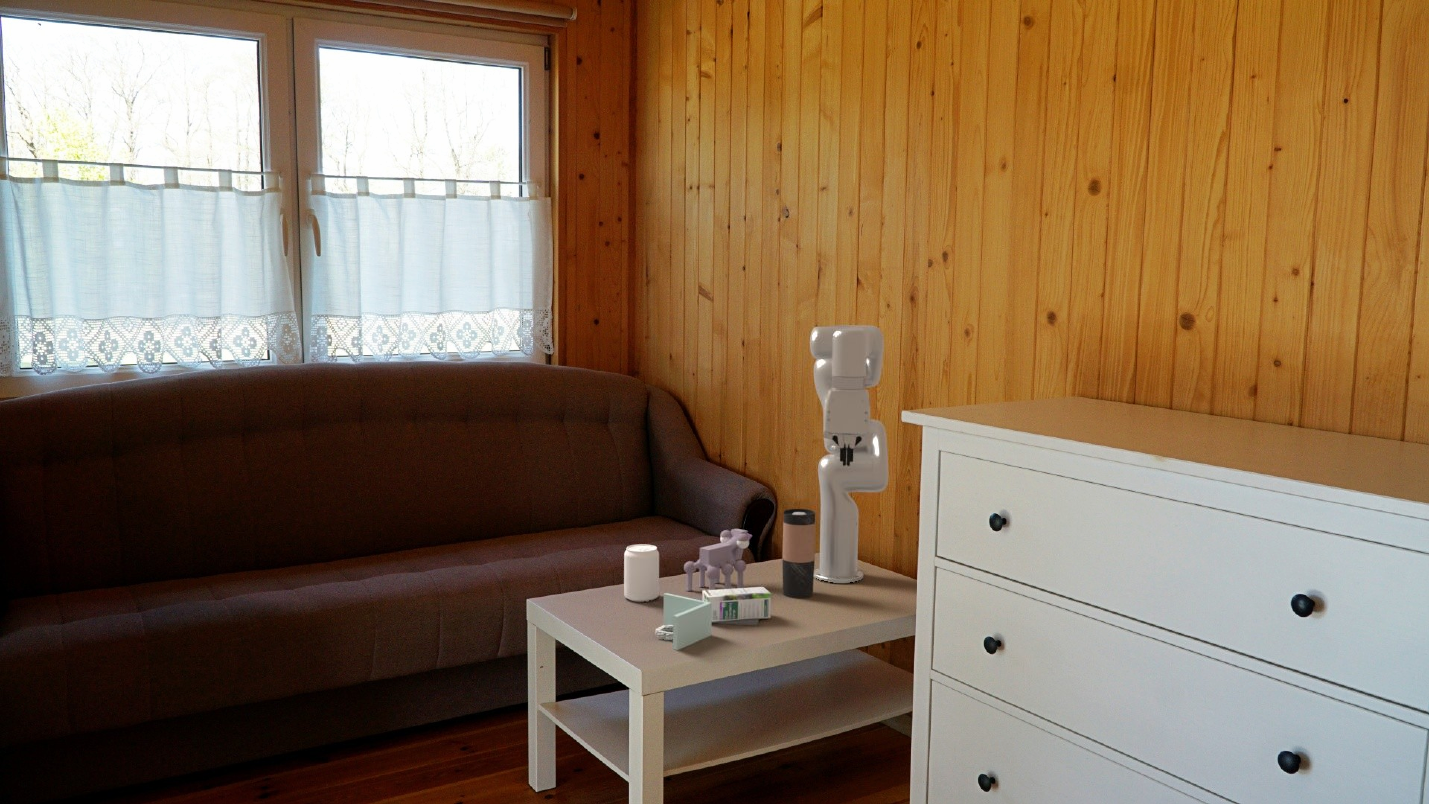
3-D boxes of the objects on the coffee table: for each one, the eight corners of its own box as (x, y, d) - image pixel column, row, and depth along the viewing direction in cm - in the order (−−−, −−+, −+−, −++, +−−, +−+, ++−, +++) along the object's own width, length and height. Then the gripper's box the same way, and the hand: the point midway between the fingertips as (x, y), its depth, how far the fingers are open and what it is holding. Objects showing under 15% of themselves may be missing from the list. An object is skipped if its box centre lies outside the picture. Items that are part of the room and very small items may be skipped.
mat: (679, 599, 251) (679, 597, 250) (764, 604, 248) (764, 602, 248) (666, 620, 235) (666, 618, 235) (756, 625, 232) (756, 623, 232)
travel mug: (819, 593, 258) (821, 511, 255) (804, 600, 251) (805, 516, 249) (791, 588, 262) (793, 507, 260) (775, 595, 255) (777, 512, 253)
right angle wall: (665, 626, 232) (666, 593, 231) (711, 637, 225) (711, 602, 225) (630, 641, 222) (630, 606, 222) (677, 653, 216) (677, 616, 215)
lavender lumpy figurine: (735, 574, 274) (738, 522, 272) (767, 584, 266) (770, 531, 264) (679, 589, 259) (682, 534, 257) (711, 600, 252) (714, 544, 250)
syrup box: (771, 618, 235) (707, 623, 232) (763, 610, 241) (700, 614, 237) (771, 593, 235) (707, 597, 231) (763, 585, 241) (701, 589, 237)
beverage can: (632, 591, 257) (632, 542, 256) (663, 595, 254) (664, 545, 253) (618, 600, 249) (618, 550, 248) (650, 604, 247) (650, 553, 245)
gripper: (881, 383, 243) (879, 463, 245) (815, 382, 245) (814, 461, 247) (882, 386, 236) (879, 468, 238) (814, 384, 238) (812, 466, 240)
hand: (846, 464), depth 243 cm, fingers closed
